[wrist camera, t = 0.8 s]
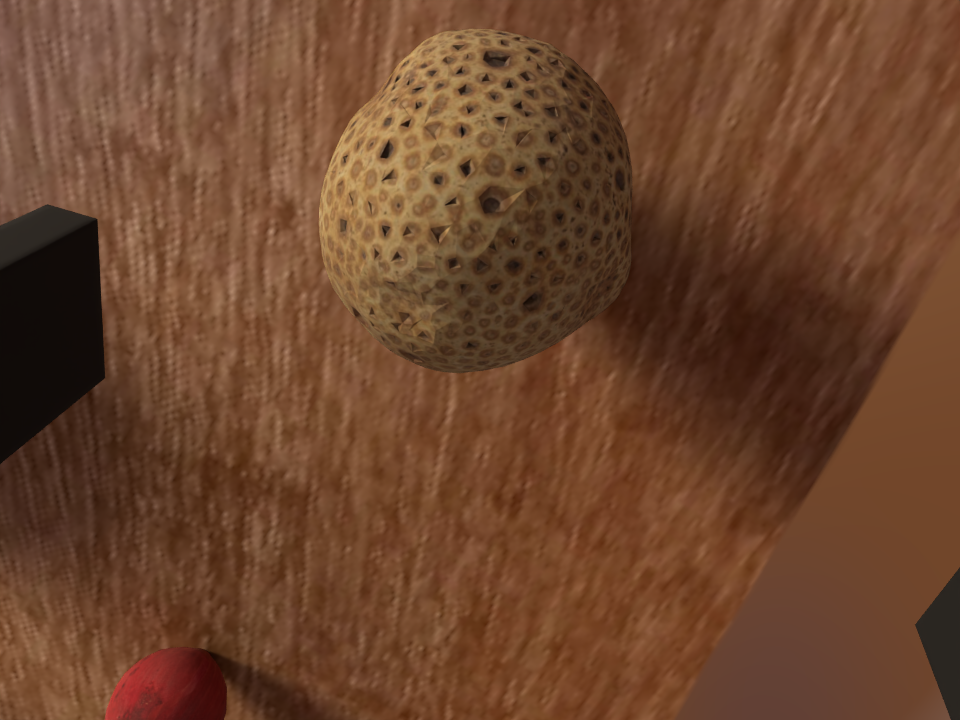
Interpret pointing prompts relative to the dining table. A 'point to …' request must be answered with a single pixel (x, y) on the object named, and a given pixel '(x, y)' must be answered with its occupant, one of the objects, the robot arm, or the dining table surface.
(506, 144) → the natural sponge
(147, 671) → the onion
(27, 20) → the dining table surface
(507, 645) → the dining table surface
